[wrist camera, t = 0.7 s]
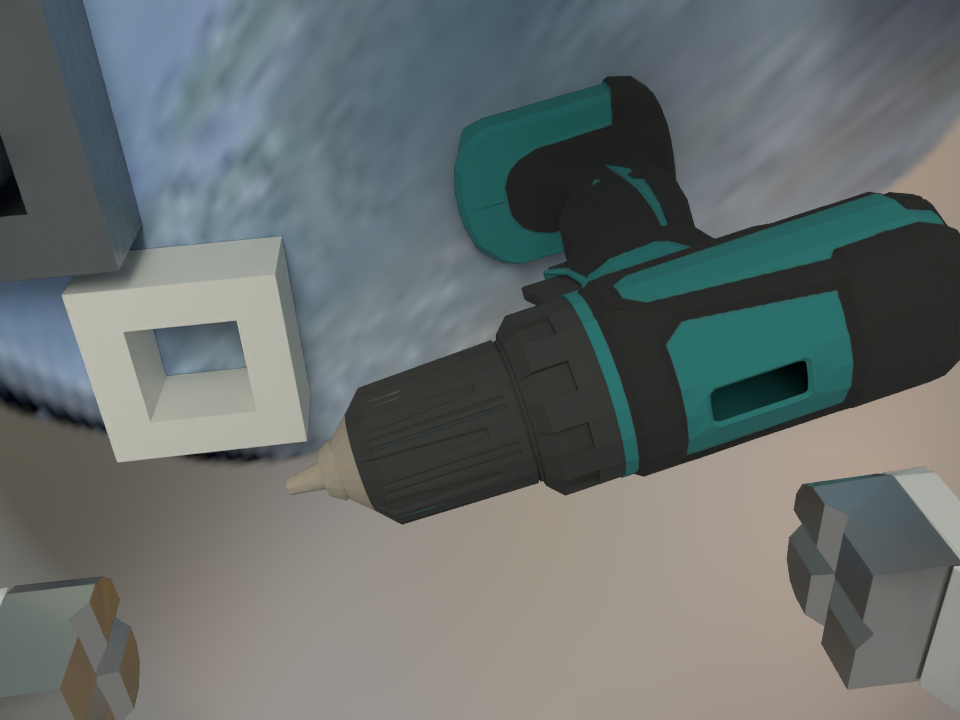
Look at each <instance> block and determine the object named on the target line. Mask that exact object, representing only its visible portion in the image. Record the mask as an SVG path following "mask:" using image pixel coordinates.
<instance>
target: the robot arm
mask: <svg viewBox="0 0 960 720" xmlns="http://www.w3.org/2000/svg"><path fill="white" fill-rule="evenodd" d="M794 511H795V513H796V515H797V516H798V518H799V519H800V521H801V523H802V525H801V526H800V527H799V528H798V529H797V530H796V531H795V532H794V533H793V534H792V535H791V536H790V537H789V544H788V553H787V563H788V570H789V578H790V582H791V585H792V588H793V591H794V593H795V596H796V599H797V600H798V602H799V604H800V606H801V608H802V610H803V611H804V613H805V614H806V615H807V616H809V617H810V618H812V619H814V620H815V621H817V622H819V623H820V624H822V625H823V626H824V632H823V637H822V642H821V644H822V646H823V647H824V649H825V651H826V653H827V655H828V656H829V658H830V660H831V662H832V663H833V665H834V667H835V669H836V670H837V672H838V674H839V676H840V678H841V679H842V681H843V683H844V685H845V686H846V688H847V689H855V688H864V687H872V686H881V685H889V684H897V683H905V682H914V681H920V682H919V685H920V686H921V687H923V688H924V689H925V690H927V691H928V692H929V693H931V694H932V695H933V696H935V697H936V698H937V699H939V700H940V701H941V702H943V703H944V704H945V705H947V706H948V707H949V708H951V709H952V710H953V711H955V712H956V713H957V714H959V715H960V500H959V499H958V498H957V497H956V496H955V494H954V493H953V492H952V491H951V490H950V489H949V488H948V487H947V485H946V484H945V483H944V482H943V481H942V480H941V479H940V477H939V476H938V475H937V474H936V473H935V472H934V471H932V470H930V469H928V468H926V467H924V466H923V467H916V468H910V469H903V470H896V471H890V472H884V473H882V474H872V475H864V476H857V477H850V478H843V479H836V480H829V481H822V482H815V483H807V484H802V486H801V487H800V489H799V490H798V492H797V494H796V499H795V505H794ZM119 601H120V599H119V597H118V594H117V592H116V590H115V587H114V585H113V583H112V581H111V579H109V578H106V577H103V576H101V577H92V578H83V579H74V580H64V581H56V582H47V583H36V584H27V585H18V586H14V587H10V588H0V720H124V719H125V718H126V717H127V716H128V715H129V714H130V713H131V711H132V710H133V709H134V706H135V702H136V698H137V693H138V688H139V664H140V661H139V654H138V649H137V644H136V640H135V637H134V634H133V632H132V630H131V627H130V626H129V625H127V624H125V623H124V622H122V621H120V620H119V619H117V618H116V617H115V615H116V612H117V608H118V605H119Z"/></svg>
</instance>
